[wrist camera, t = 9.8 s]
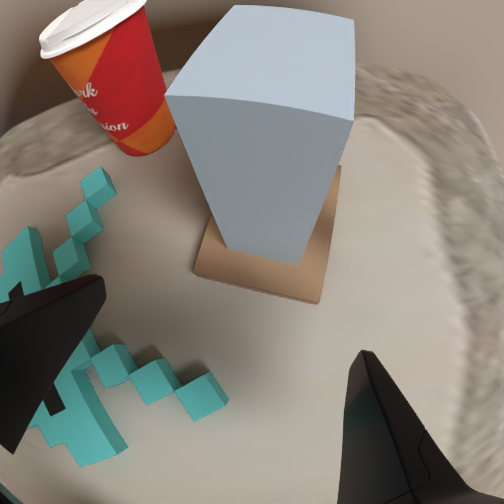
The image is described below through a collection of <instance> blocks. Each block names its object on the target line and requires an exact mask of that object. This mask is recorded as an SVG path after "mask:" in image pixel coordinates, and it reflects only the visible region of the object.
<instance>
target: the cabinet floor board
mask: <svg viewBox="0 0 504 504" xmlns="http://www.w3.org/2000/svg"><path fill="white" fill-rule="evenodd" d="M340 173H341V166H340V165H338V167H337V169H336V172H335V175H334V177H333V180H332V183H331V185H330V188H329V191H328V193H327V196H326V198H325V201H324V204H323V206H322V209H321V211H320V214H319V216H318V219H317V221H316V224H315V226H314V229H313V231H312V234H311V236H310V239H309V241H308V244H307V246H306V248H305V251H304V253H303V256H302V258H301V260H300V263H299V265H293V264H289V263H285V262H281V261H276V260H272V259H268V258H263V257H259V256H255V255H250V254H246V253H242V252H237V251H233V250H229V249H227V246H226V244H225V242H224V239H223V237H222V235H221V232H220V230H219V228H218V225H217V223H216V221H215V218H214V216H213V214H212V213H211V216H210V219H209V222H208V225H207V228H206V231H205V234H204V238H203V241H202V244H201V247H200V250H199V254H198V257H197V260H196V263H195V267H194V270H193V273H194V274H195V275H196V276H198V277H202V278H206V279H210V280H214V281H218V282H221V283H225V284H229V285H233V286H238V287H242V288H246V289H250V290H254V291H258V292H262V293H267V294H271V295H275V296H279V297H284V298H288V299H293V300H297V301H301V302H306V303H310V304H315V305H316V304H318V303H319V302H320V298H321V293H322V288H323V283H324V277H325V272H326V267H327V261H328V256H329V250H330V244H331V238H332V231H333V225H334V218H335V212H336V204H337V197H338V189H339V181H340Z"/></svg>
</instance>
